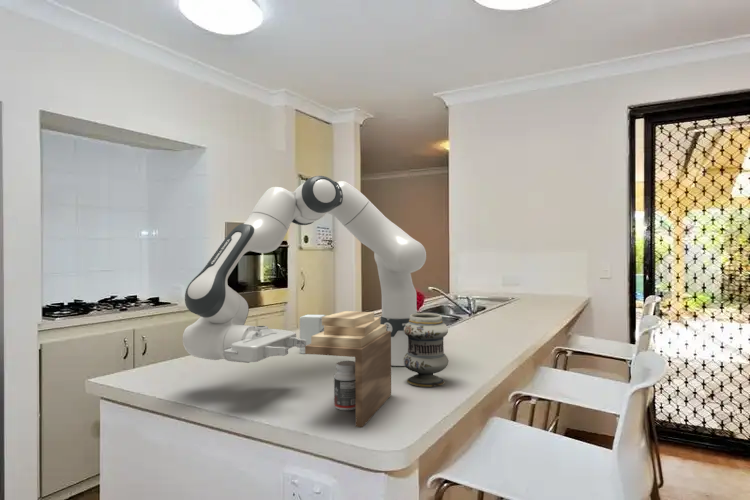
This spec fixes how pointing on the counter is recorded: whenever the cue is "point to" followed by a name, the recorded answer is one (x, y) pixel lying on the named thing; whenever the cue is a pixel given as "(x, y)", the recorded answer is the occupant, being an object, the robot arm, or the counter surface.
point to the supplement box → (310, 328)
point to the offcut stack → (349, 329)
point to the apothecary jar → (425, 349)
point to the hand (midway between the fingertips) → (296, 347)
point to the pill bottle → (345, 386)
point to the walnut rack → (366, 373)
